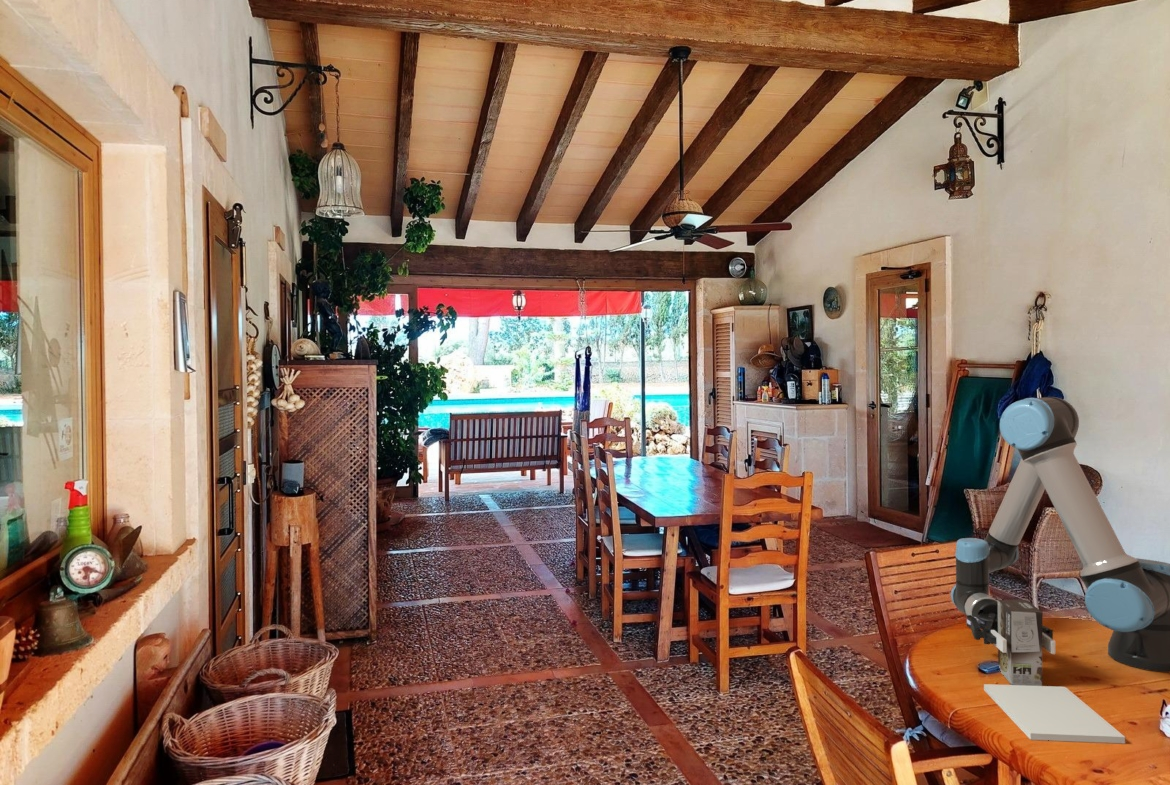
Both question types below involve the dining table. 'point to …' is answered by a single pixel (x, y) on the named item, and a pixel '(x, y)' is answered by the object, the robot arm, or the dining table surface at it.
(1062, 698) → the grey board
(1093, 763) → the dining table surface
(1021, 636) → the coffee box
